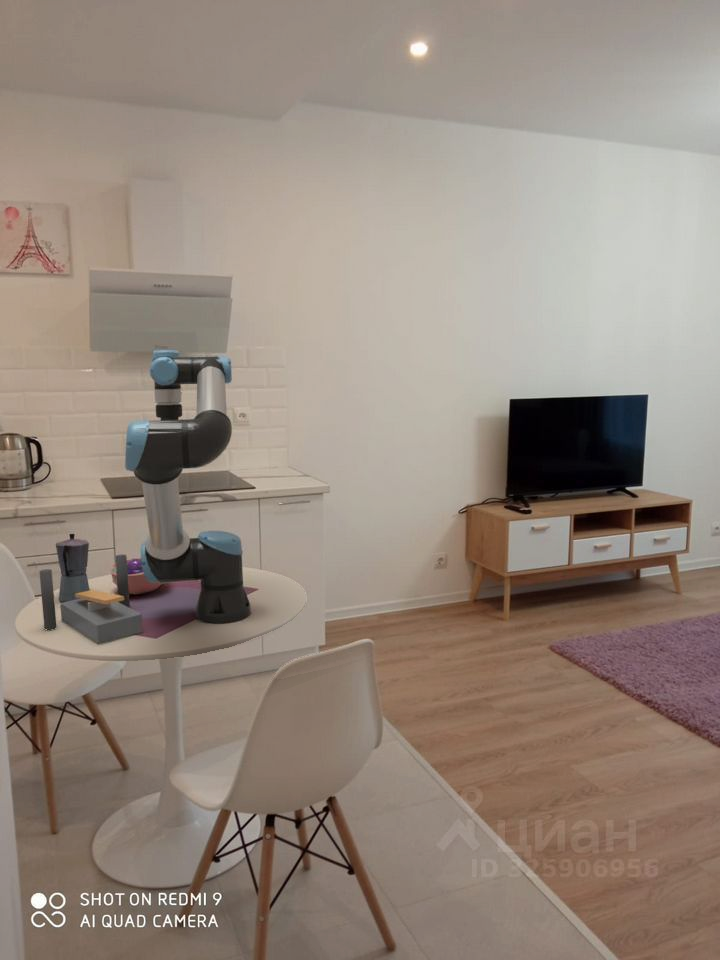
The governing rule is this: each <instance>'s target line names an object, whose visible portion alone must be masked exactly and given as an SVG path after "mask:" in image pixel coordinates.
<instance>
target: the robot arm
mask: <svg viewBox="0 0 720 960" xmlns="http://www.w3.org/2000/svg"><path fill="white" fill-rule="evenodd" d="M149 374H150V375H149V376H150V378H151V379H152V380H153V382H154V384H153V385H154V402H155V403H156V405H155V417H156V418H159V419H160V420H149V419H144V420H136V421H135V420H134V421H131V422H130V423H129V424H128V426H127V429H126V438H125V456H124V457H125V458H124V459H125V462H124V468H125V470H126V471H129V472H133V474H134V477H135V478H136V479H137V480H138V481H139V482H141V485H142V491H143V492H142V493H143V500H144V506H145V512H146V518H147V519H146V520H147V525H148V532H149V535H148V536H146V539H145V540H143V542H142V543H141V545H140V558H141V562H142V569H143V572H144V575H145V577H146V579H147V580H148V581H149V582H152V583H162V584H166V583H177V582H192V581H200V592H199V596H198V600H197V602H196V606H195V617H196V619H198V620H199V621H201V622H203V623H204V622H205V623H210V624H211V623H212V624H223V623H225V624H226V623H232V622H236V621H240V620H241V621H242V620H243V619H245V618H248V617H249V616H250V614H251V612H252V611H251V603H250V600H249V597H248V595H247V593H246V590H245V589H246V588H245V586H244V575H243V574H244V572H243V571H244V570H243V569H244V568H243V548H242V547H243V545H242V540H241V538H240V537H239V536H238V535H236V534H235V533H232V532H228V531H222V530H204V531H201V532H199V533H198V535H197V537H190V535H189V534H188V533H187V532H186V531H185V530H184V529H183V528H184V527H183V518H182V517H183V516H182V508H181V507H182V505H181V500H180V499H181V497H180V489H179V488H180V487H179V477H180V476H181V474H182V472H183V470H184V469H198V468H202V467H204V466H207V465H209V464H211V463H212V462H214V461H215V460H217V459H218V458H219V457H220V456H221V455H223V454H222V453H224V451H225V450H226V449H227V447H228V445H229V444H230V442H231V438H232V434H233V433H232V432H233V431H232V430H233V427H232V421H231V419H230V417H229V416H228V413H227V395H226V394H227V393H226V391H227V390H226V384H229V383H232V361H231V358H230V357H228V356H218V355H215V356H180V353H179V351H178V350H175V349H174V350H170V349H169V350H164V349H163V350H161V349H160V350H154V351H153V353H152V362H151V363H150V367H149ZM182 385H196V414H195V416H194V418H190V419H189V418H188V419H179V418H181V417H182V416H183V405H182V404H181V402H182V393H183V392H182V387H181V386H182Z"/></svg>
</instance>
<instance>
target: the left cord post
mask: <svg viewBox="0 0 720 960" xmlns="http://www.w3.org/2000/svg"><path fill="white" fill-rule="evenodd" d="M39 580H40V582H39V583H40V594H41V595H40V596H41V604H42V605H41V606H42V617H43V627H44V628H45V629H47V630H49V631H52V630H51V629H54V630H56V629H57V628H56V627H57V615H56V607H55V593H54V583H53V571H52V569H50V568H49V569H42V570H39ZM55 628H56V629H55ZM45 629H44V630H45ZM47 630H46V631H47Z"/></svg>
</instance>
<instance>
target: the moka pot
mask: <svg viewBox="0 0 720 960" xmlns="http://www.w3.org/2000/svg"><path fill="white" fill-rule="evenodd" d="M89 546H90V543H89V542H88V540H85V539H80V538H75V533H70V534H69V539H66V540H62V541H61V540H60V541H58V542H56V543H55V547H56V548H55V549H56V553H57V554H56V555H57V561H58V564H59V565H58V566H59V569H60V575H61V576H60V583H59V584H60V585H59V593H58V600H59V602H60V603H63V602H68V601H72V600H76V599H81V598H76V597H75V594H76V593H80V592H85V591H89V590H91V589H90V585H89V580H88V574H87V567H88V559H89V548H90V547H89Z"/></svg>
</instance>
